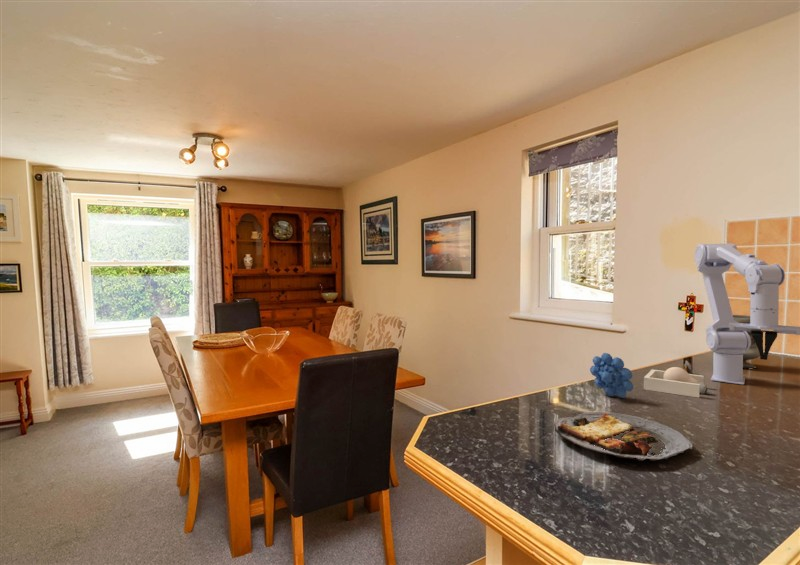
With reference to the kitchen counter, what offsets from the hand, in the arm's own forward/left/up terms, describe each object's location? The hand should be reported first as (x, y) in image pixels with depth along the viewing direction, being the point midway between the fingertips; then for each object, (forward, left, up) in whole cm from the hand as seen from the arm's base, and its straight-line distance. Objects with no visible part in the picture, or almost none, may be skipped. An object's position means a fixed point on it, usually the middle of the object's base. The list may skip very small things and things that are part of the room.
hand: (763, 358), depth 112 cm
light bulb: (+6, -17, -11) cm, 21 cm away
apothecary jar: (-40, -6, -11) cm, 42 cm away
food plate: (+55, -23, -11) cm, 61 cm away
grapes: (+25, -32, -11) cm, 42 cm away
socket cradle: (+5, -19, -10) cm, 23 cm away
